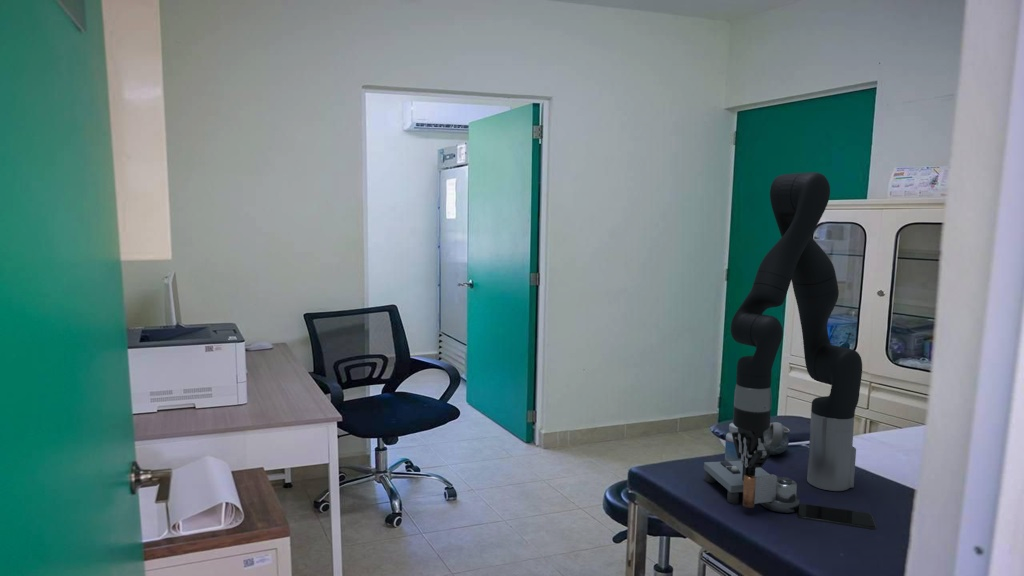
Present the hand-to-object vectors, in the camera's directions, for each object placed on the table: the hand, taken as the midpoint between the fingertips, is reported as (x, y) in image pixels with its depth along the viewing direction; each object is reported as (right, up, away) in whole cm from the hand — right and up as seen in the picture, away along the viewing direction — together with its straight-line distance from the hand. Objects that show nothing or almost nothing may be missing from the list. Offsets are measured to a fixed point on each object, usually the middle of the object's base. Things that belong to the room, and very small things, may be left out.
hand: (748, 482), depth 147 cm
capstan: (+4, -5, 0) cm, 7 cm away
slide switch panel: (+2, -5, +10) cm, 11 cm away
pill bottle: (+5, -3, +23) cm, 24 cm away
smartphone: (+17, -7, -4) cm, 19 cm away
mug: (+18, -2, +33) cm, 37 cm away
